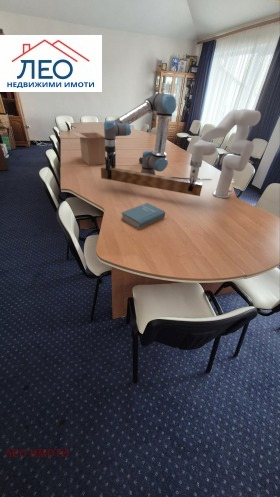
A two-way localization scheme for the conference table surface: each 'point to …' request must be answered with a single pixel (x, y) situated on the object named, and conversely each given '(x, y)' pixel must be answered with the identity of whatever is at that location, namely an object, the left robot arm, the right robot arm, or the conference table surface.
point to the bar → (152, 181)
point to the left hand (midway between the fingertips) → (111, 177)
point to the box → (92, 146)
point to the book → (142, 215)
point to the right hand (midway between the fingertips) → (190, 189)
